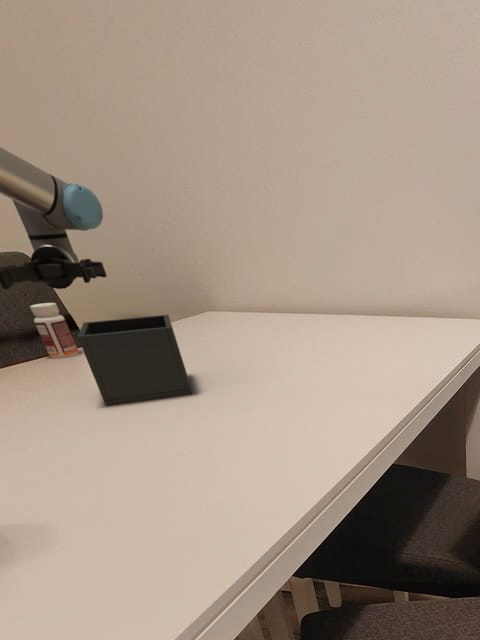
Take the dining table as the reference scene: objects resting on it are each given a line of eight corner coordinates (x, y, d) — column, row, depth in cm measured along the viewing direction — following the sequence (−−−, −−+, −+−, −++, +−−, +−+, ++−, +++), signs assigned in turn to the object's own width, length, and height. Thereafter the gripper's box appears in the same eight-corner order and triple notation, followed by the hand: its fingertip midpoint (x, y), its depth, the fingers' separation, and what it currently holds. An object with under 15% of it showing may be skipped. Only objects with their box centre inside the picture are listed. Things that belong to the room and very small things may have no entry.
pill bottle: (80, 352, 111) (59, 301, 105) (78, 357, 107) (57, 305, 102) (51, 355, 109) (28, 304, 104) (49, 360, 106) (25, 307, 100)
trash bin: (106, 408, 81) (77, 336, 76) (109, 388, 90) (83, 322, 84) (193, 396, 85) (171, 327, 80) (188, 378, 93) (168, 314, 88)
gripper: (125, 282, 132) (124, 294, 117) (-4, 292, 124) (-23, 306, 109) (111, 242, 127) (108, 249, 112) (-24, 250, 119) (-47, 258, 104)
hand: (43, 277), depth 110 cm, fingers open, 13 cm apart
